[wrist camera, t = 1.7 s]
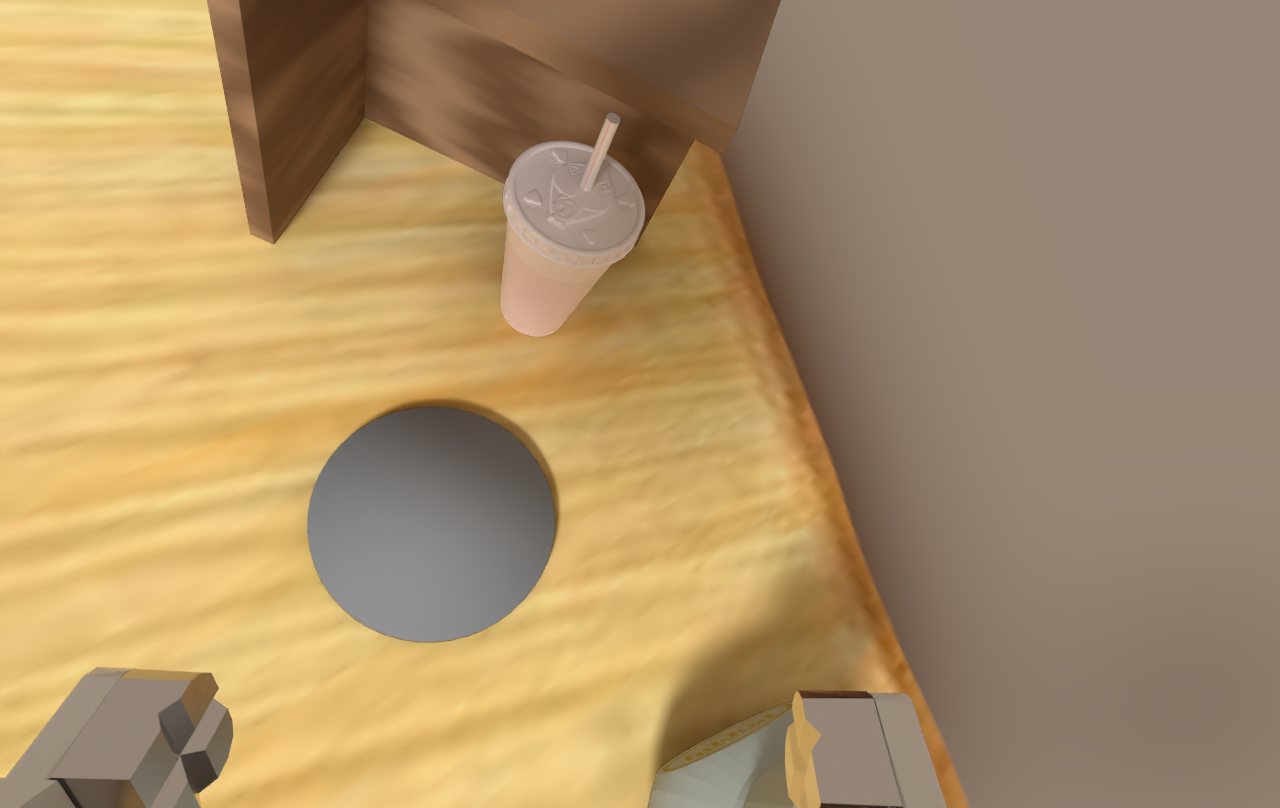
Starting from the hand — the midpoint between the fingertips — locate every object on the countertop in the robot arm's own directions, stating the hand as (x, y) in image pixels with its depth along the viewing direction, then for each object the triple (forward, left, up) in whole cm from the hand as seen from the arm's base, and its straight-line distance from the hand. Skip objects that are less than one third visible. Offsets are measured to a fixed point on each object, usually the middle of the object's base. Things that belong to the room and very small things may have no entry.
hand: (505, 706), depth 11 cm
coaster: (-3, +9, -24) cm, 26 cm away
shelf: (-8, +25, -24) cm, 36 cm away
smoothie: (-3, +22, -25) cm, 33 cm away
